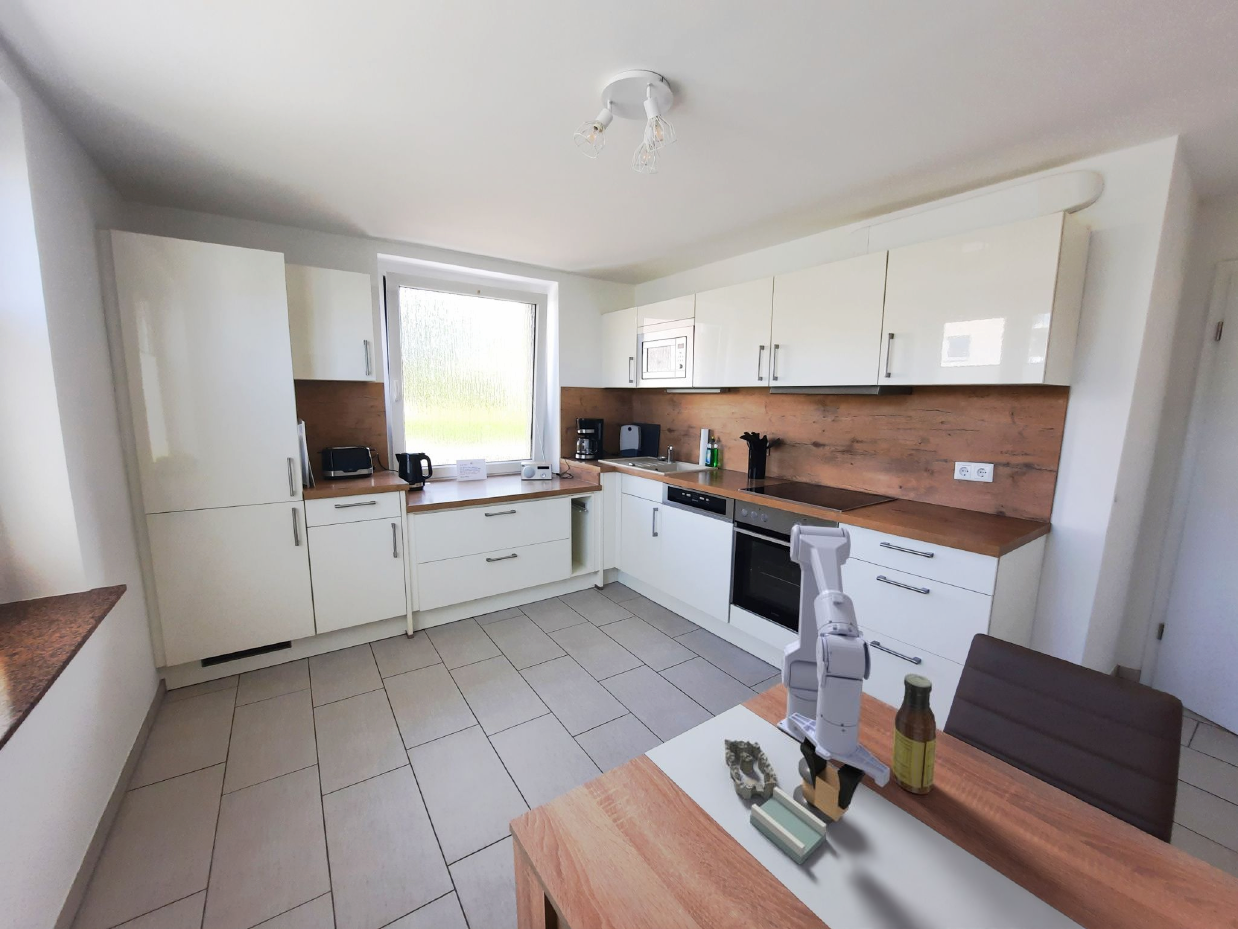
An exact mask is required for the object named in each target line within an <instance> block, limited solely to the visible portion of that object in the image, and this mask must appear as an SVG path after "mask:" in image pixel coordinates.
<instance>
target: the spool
mask: <svg viewBox="0 0 1238 929" xmlns="http://www.w3.org/2000/svg"><path fill="white" fill-rule="evenodd" d="M797 765H798V768H797V770H798V774H799V775H800V777H801V778H802V784H799V785H798V786H796V787H795V788H794V790H793V794H792V795H793V796H792V799H794V800H795V801H796V802H797V803H799V804H800V805H801V806H803V807H804V808H805V809H807V810H808V811H809V812H811V813H812V814H813V815H815V816H816V817H817V818H818V819H820V820H821V821H822V822H824V823H825V824H827V823H828V824H830V823H832V822H834V821H835V820H834V819H832V818H831V817H830V816H828V815H827V814H826V813H824V812H823V811H821V810H820V809H819V808H817V807H816V806H815V805H814V803H815V790H814V788H813V783H812V778H811V774H810V770H809V767H808V764H807V762H806V760H805V758H804V756H803V757H802V758H800V759H799V761H798V764H797ZM828 765H829V766H831V767H832V768H834V769H835V770H837V769H836V767H835V766H834V765H833V764H832V763H830V762H829V760H827V766H828Z"/></svg>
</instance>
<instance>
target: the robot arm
mask: <svg viewBox="0 0 1238 929" xmlns="http://www.w3.org/2000/svg"><path fill="white" fill-rule="evenodd" d="M851 541H852V540H851V535H850V532H849V530H848V529H847V528H846V527H829V526H814V525H813V526H811V525H799V524H794V525H793V526H792V527H791V532H790V549H789V551H790V552H789V555H790V556H789V557H790V561H791V562H795V563H796V564H798V565H799V568H800V570H801V571H800V572H801V573H800V574H801V575H800V578H801V579H800V594H799V595H800V598H799V617H798V636H797V640H795V641H793V642H791V643H789V644H787V645H785V646H784V648H783V650H782V653H783V654H782V658H781V682H782V683H781V684H782V685H783V686H784V687H785V688H787V698H786V699H787V700H786V702H787V703H786V715H785V716H786V717H785V718H783V719H781V720H780V721H779V722H777V723H776V727H777V728H779V729H780V730H782V731H784V732H785V733H787V734H788V735H789V736H791V737H792V738H794V739H796V740H797V741H799V742H801V743H800V745H799V751H800V752H801V754H802V756H803V757H804V758H805V760H806V762H807V764H808V767H809V770H810V774H811V778H812V783H813V788H814V790H815V787H816V776H817V775H818V774H819V773H820V772H821V771H823V770H824V769H825V768H826V767H827V761H829V760H831V759H833V760H836V761H838V762H841V763H844V764H843V765H842V766H841V767H839V768H838V769H837V773H838V777H839V783H840V794H839V807H840V808H841V809H843V810H845V809H846V808H847V807H848V806H849V807H850V805H851V803H852V799H853V797H854V794H855V792H856V790H857V787H858V786H859V784H860V783H861V781H862V780H863V779H864V777H865V776H866V775H867V776H869V777H871V778H872V779H874V783H875V784H876V785H878V786H880V787H882V788H884V786H885V785H887V784H888V783H889V781H890V773H891V772H890V771H891V768H890V767H889V766H887V765H886V764H884V763H883V762H881V761H880V760H879V759H878V758H876V757H875V756H874V755H873V754H872V753H871V752H870V751H869V750H868V749H866V748H865V746H863V745H862V744H861V743H860V741H859V730H860V719H861V709H862V708H861V706H862V697H863V696H862V694H863V683H864V680H866V681H868V680H869V678H870V676H871V669H872V667H871V666H872V661H871V659H872V658H871V651H870V646H869V642H868V640H867V637H866V636H865V635H864V632H863V631H862V630H859V625H858V621H857V616H856V610H855V607H854V603H853V600H852V598H851V597H850V596H849V595H847V594H845V593H844V589H843V588H844V587H843V577H842V566H844V565H845V564H846V563H847V560H848V559H849V558H850V554H851V543H852V542H851Z"/></svg>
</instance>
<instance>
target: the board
mask: <svg viewBox="0 0 1238 929" xmlns="http://www.w3.org/2000/svg"><path fill="white" fill-rule="evenodd" d="M749 822H750V823H751V824H752V825H753V826H754V827H755V828H757V829H758V831H760V832H761V833H762V834H763V835H765V836H766V837H767V838H768V839H770V841H771V842H773V844H775V845H776V846H777V847H779V849H781V850H782V851H783V852H784V853H785V854H786V855H787V856H789V857H790V858H791V859H792V860H793V861H794V862H796V863H797V865H799V866H801V865H802V864H803V863H804V862H805V861H806V860H807V859H808V858H809V857H810V856H811V855H812V854H813V853H814V852H815V851H816V850H817V849H818V848H819V847H820V846H821V844H823V842H825V841H826V840H827V823H824V822H822V821H821V820H820V819H818V818H817V817H816V816H815V815H813V814H812V813H811V812H809V811H808V810H807V809H805V808H804V807H803V806H801V805H800V804H799V803H797V802H796V801H795V800H794V799H793V797H791V796H790V795H788V793H786V792H784V791H783V790H782V789H780V788H779V787H777V786H775V788H774V789H773V793H772V797H770V799H767V801H766V802H764V803H763V804H762V805H761V806H758V805H757V804H756V803H754V804H752V805H751V807H750V816H749Z"/></svg>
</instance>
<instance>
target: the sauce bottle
mask: <svg viewBox="0 0 1238 929" xmlns="http://www.w3.org/2000/svg"><path fill="white" fill-rule="evenodd" d="M932 684H933V683H932V682H931V680H930V679H929V678H927V677H926V676H924V675H920V674H917V673H907V674H906V675H905V676H904V680H903V685H904V694H903V695H904V696H903V701H902V703H901V705H900V708H899V709H898V710H897V712H896V714H895V716H894V717H895V718H894V729H893V730H894V731H893V747H892V762H891V763H892V765H891V768H892V769H891V770H892V775H893V779H894V780H895V782H896V783H897V784H898V785H899V786H900V787H901V788H903V789H904V790H906V791H907V792H910V793H914V794H916V795H917V794H918V795H927V794H929V792H931V790H932V789H933V783H934V775H935V758H936V743H937V733H936V731H937V722H936V718H935V717H936V716H935V713H933V710H932V707H931V702H930V701H931V700H930V697H931V692H932V691H933V685H932Z"/></svg>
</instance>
